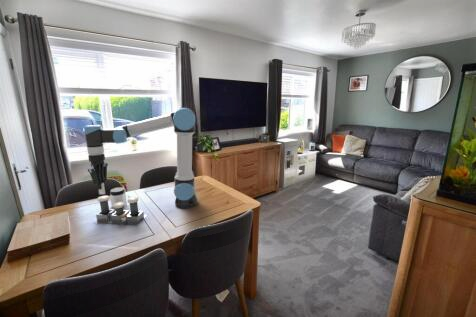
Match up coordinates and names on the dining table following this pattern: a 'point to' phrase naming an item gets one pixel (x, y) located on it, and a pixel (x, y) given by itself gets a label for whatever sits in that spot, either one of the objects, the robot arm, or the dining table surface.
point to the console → (119, 218)
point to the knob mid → (119, 208)
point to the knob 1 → (104, 204)
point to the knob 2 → (133, 205)
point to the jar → (117, 196)
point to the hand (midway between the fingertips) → (102, 193)
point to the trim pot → (123, 218)
